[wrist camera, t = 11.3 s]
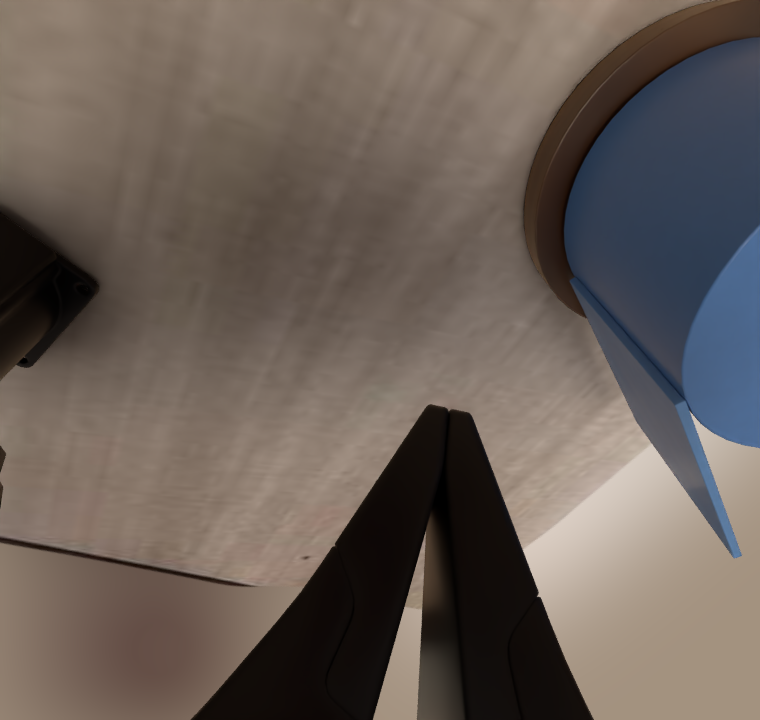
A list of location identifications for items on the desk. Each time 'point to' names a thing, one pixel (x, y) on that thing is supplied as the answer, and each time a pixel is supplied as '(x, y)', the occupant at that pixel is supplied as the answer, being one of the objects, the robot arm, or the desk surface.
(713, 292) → the towel roll
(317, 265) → the desk surface
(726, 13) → the holder
